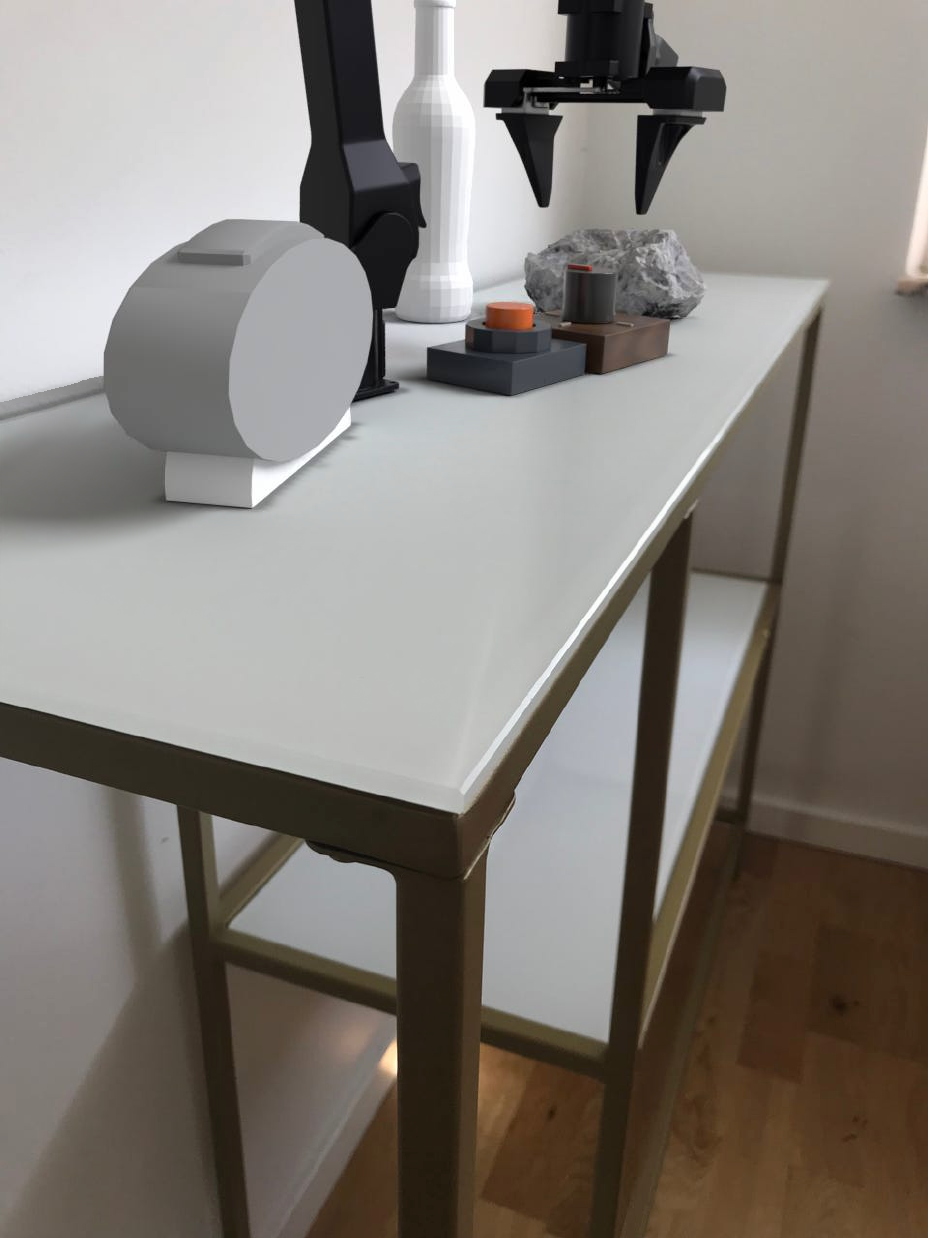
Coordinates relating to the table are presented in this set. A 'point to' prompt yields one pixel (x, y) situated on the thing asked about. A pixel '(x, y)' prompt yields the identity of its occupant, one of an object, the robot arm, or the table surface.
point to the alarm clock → (240, 356)
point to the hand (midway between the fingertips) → (591, 210)
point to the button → (509, 315)
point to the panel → (613, 339)
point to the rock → (621, 271)
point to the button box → (506, 358)
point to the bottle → (437, 171)
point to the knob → (589, 294)
